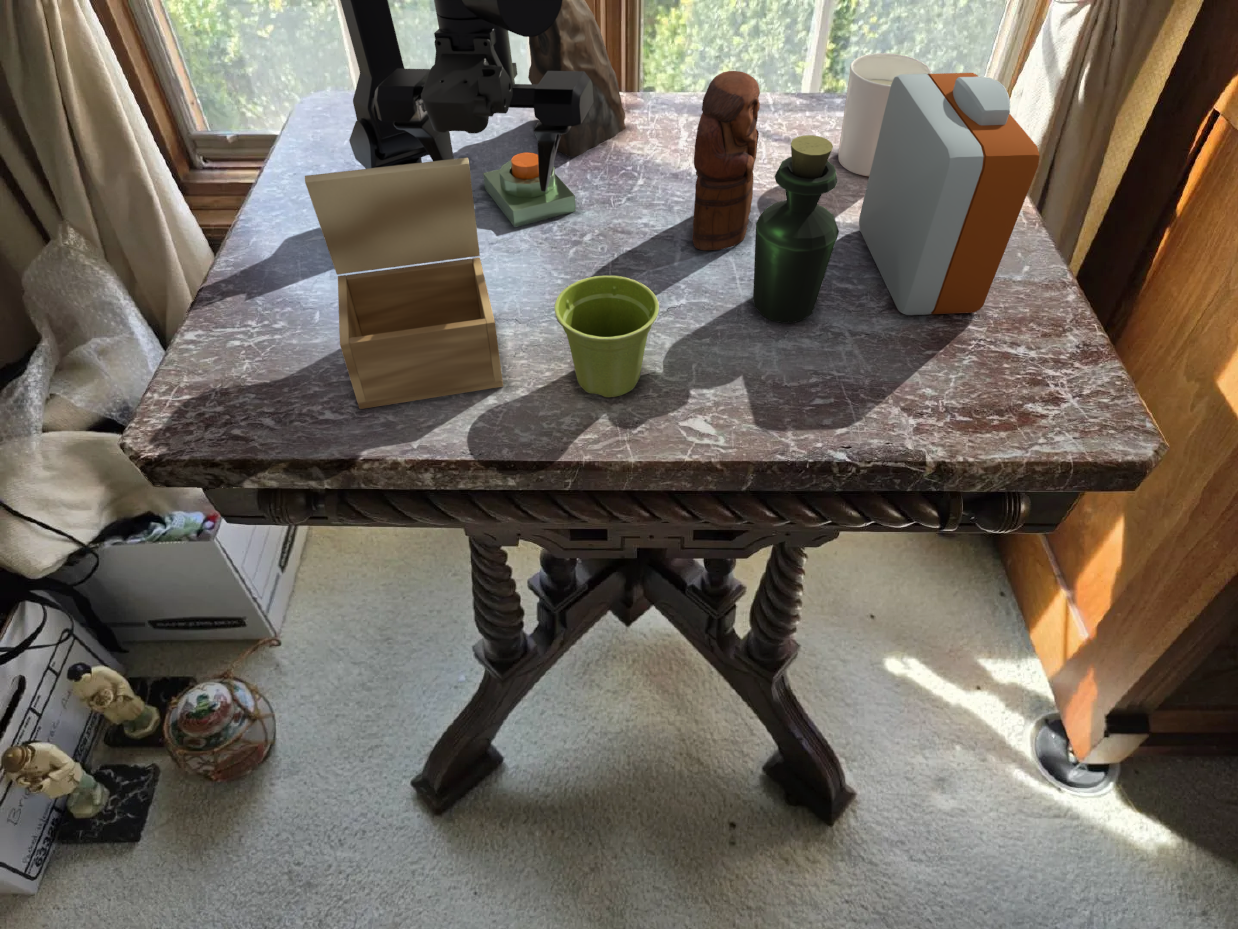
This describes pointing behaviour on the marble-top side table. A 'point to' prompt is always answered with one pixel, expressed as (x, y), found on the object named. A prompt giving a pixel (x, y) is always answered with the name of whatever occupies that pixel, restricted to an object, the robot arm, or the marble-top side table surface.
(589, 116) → the owl
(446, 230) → the lid
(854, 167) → the candle holder
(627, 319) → the plant pot
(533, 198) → the button block
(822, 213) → the potion bottle
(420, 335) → the chest
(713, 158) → the wooden figurine
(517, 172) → the button
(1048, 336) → the marble-top side table surface
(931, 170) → the alarm clock
